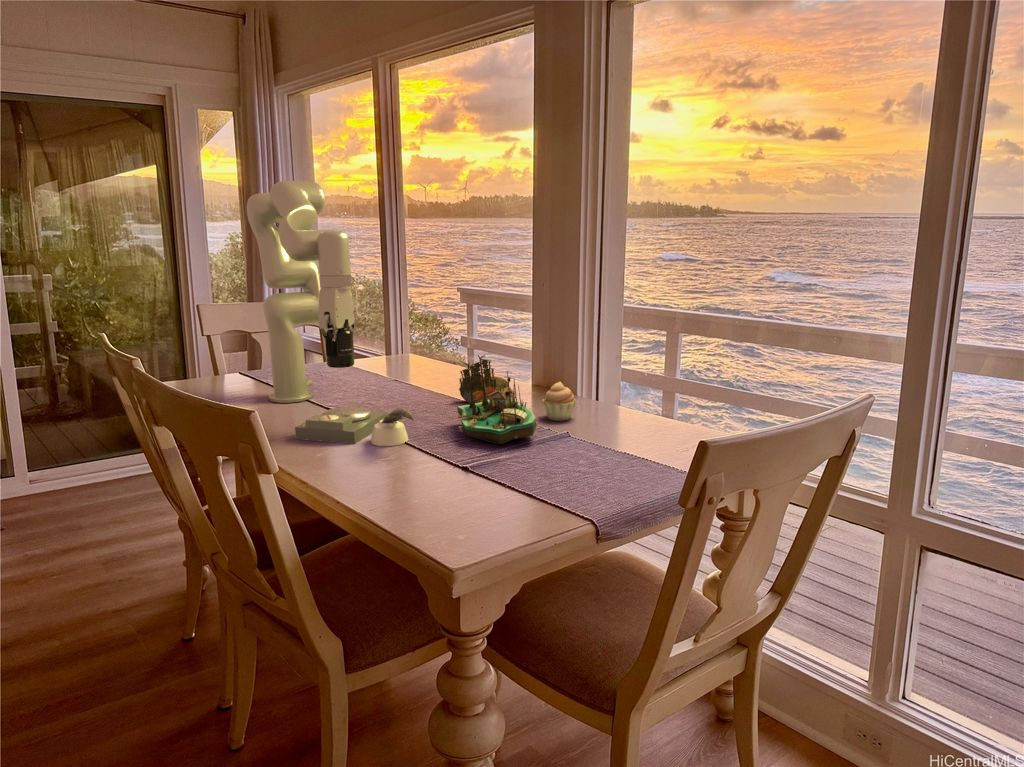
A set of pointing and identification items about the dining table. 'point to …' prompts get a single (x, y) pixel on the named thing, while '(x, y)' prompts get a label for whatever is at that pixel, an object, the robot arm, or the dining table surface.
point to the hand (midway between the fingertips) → (340, 353)
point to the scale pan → (350, 412)
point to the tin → (479, 394)
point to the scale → (338, 428)
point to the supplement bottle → (343, 348)
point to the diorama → (493, 408)
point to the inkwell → (391, 429)
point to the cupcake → (559, 402)
